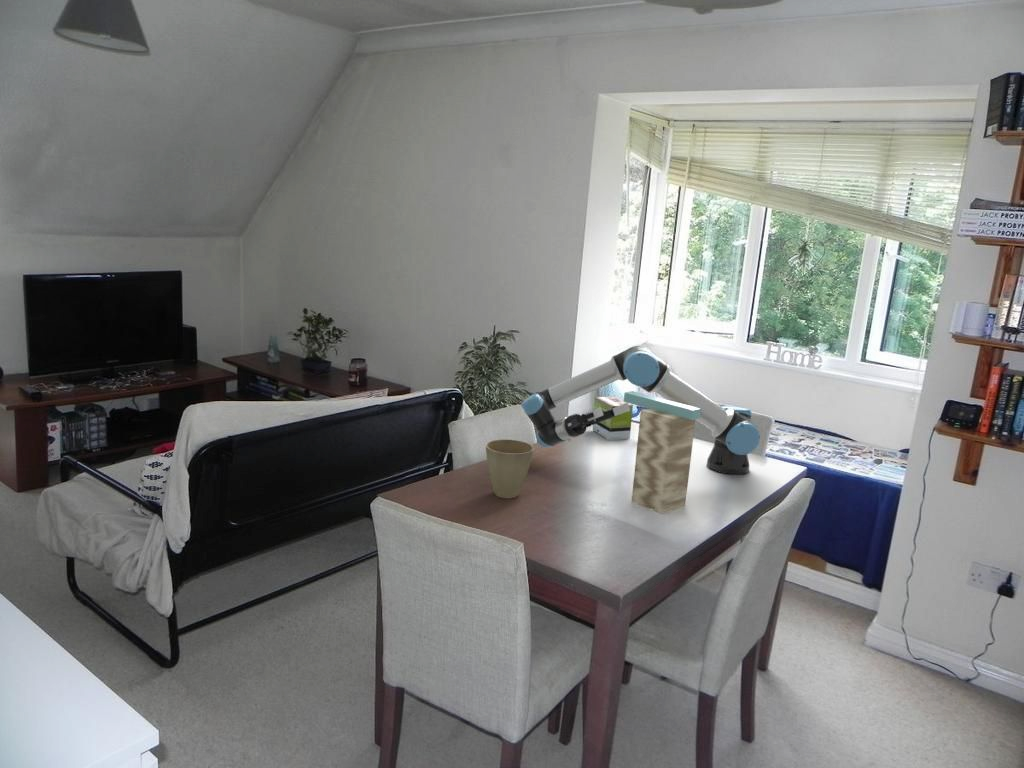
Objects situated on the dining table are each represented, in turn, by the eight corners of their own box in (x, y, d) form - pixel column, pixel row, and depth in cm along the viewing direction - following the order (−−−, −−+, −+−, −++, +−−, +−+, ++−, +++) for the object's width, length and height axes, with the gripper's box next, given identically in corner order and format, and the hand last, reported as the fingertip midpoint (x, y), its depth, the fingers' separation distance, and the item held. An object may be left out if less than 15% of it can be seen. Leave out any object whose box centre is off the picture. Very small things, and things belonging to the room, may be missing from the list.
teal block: (623, 401, 251) (624, 392, 251) (631, 400, 254) (632, 391, 253) (692, 420, 233) (693, 410, 232) (699, 418, 236) (700, 408, 235)
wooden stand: (631, 501, 248) (640, 409, 242) (654, 494, 256) (664, 405, 250) (662, 513, 239) (672, 418, 233) (685, 505, 247) (696, 413, 241)
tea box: (591, 430, 329) (594, 396, 326) (612, 429, 333) (615, 395, 330) (609, 440, 316) (612, 405, 313) (630, 439, 320) (634, 404, 317)
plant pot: (473, 492, 247) (475, 444, 243) (505, 483, 257) (508, 436, 254) (507, 506, 237) (510, 456, 234) (539, 496, 248) (543, 447, 244)
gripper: (598, 432, 280) (642, 415, 265) (549, 442, 263) (593, 424, 248) (592, 412, 281) (635, 394, 266) (542, 421, 264) (586, 402, 249)
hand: (615, 408), depth 257 cm, fingers open, 13 cm apart
